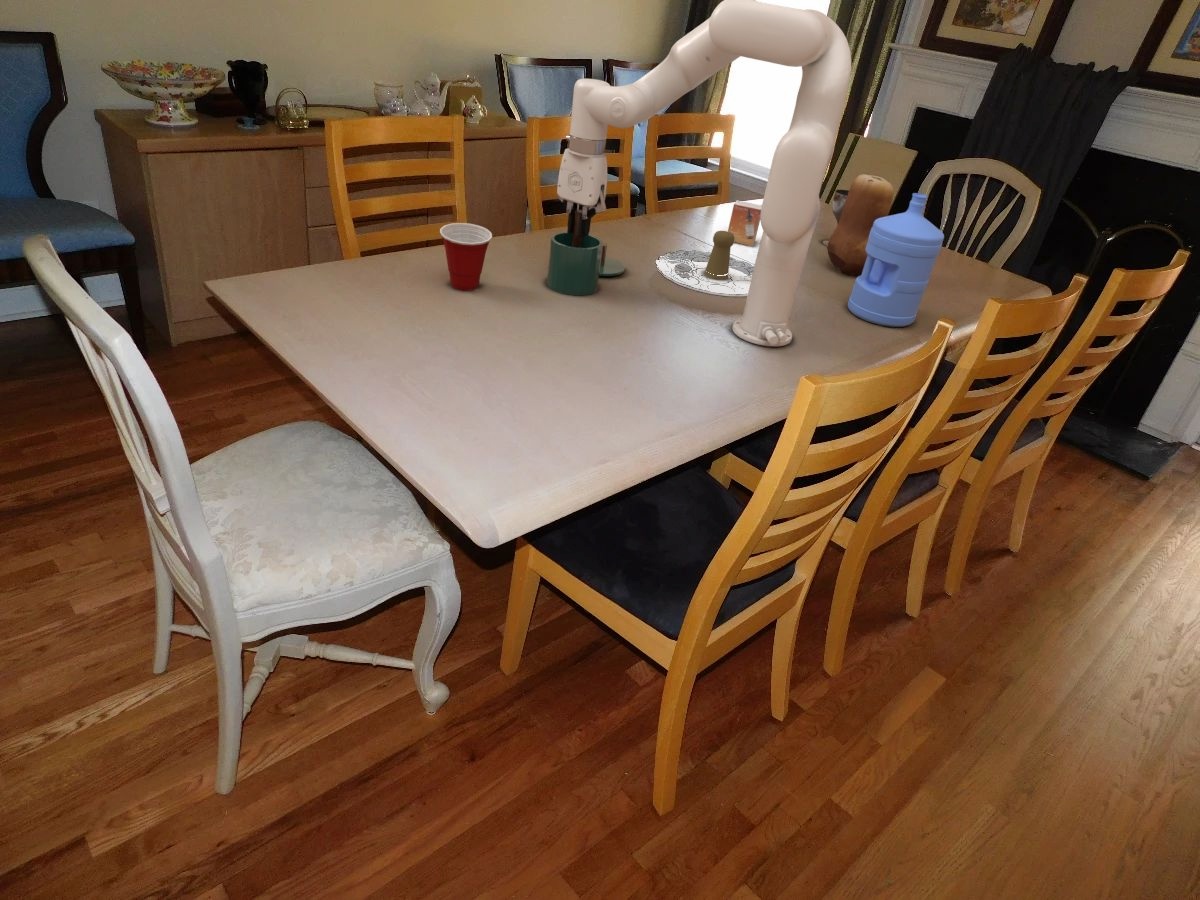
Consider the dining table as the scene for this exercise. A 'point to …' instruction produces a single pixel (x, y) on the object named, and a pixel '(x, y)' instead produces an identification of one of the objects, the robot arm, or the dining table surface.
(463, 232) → the plastic cup
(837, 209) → the wine glass
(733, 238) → the olive pawn
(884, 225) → the water jug
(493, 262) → the dining table surface
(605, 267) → the jar lid
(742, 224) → the small box
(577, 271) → the jar
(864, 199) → the butternut squash
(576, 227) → the peg on round base
